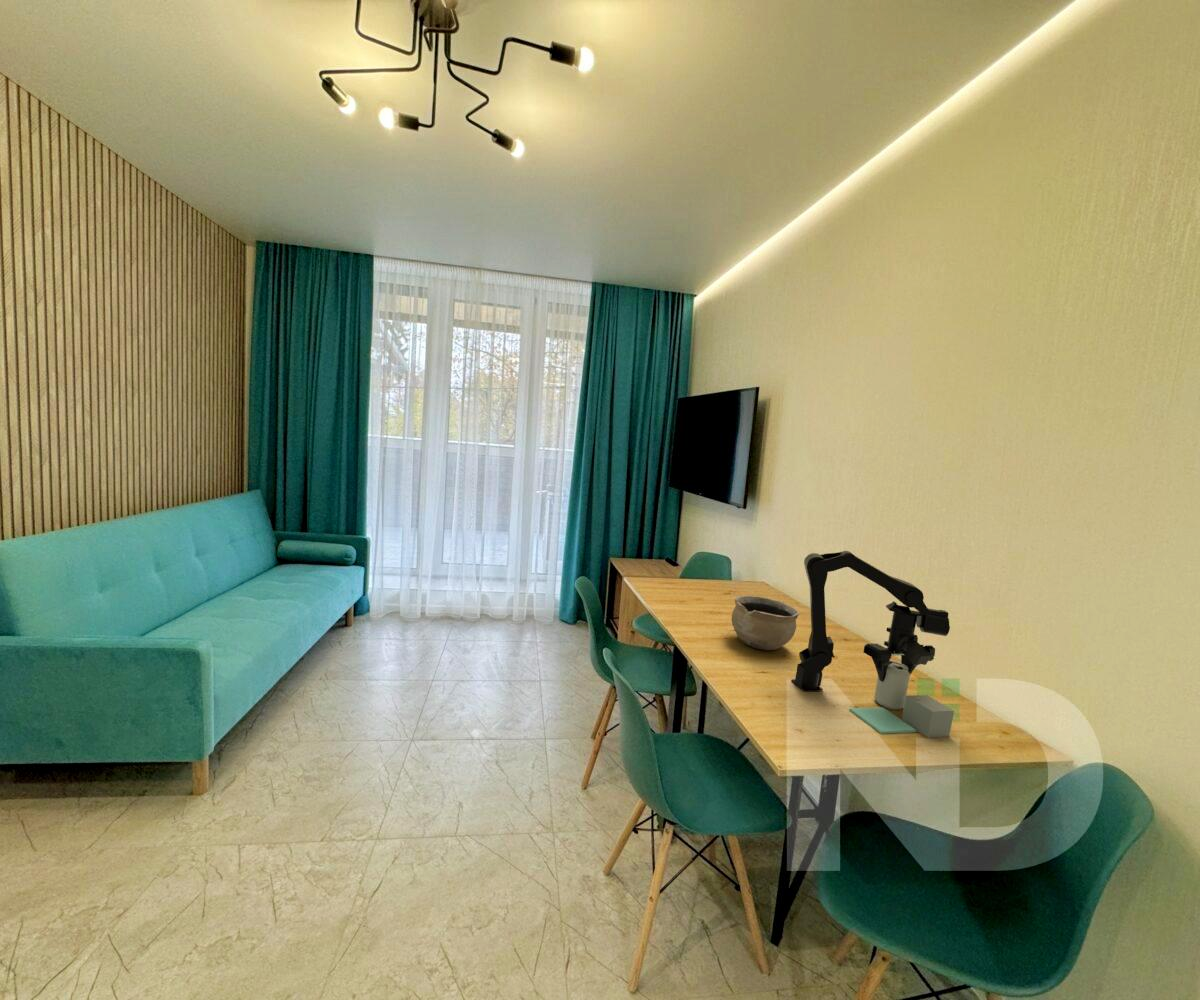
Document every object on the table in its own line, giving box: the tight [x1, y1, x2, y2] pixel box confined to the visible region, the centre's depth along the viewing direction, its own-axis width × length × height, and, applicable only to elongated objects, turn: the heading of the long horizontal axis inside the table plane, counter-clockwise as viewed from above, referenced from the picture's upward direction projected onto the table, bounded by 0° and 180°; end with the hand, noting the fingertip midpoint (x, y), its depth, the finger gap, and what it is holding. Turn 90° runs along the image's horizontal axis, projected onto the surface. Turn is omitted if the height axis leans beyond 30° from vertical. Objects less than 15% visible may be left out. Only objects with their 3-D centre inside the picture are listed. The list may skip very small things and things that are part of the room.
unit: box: [901, 694, 955, 739], centre depth 133 cm, size 7×8×7 cm
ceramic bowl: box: [731, 595, 800, 651], centre depth 179 cm, size 22×22×15 cm
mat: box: [849, 706, 917, 735], centre depth 134 cm, size 11×11×1 cm
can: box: [873, 660, 911, 711], centre depth 144 cm, size 8×8×12 cm
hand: (892, 680), depth 144 cm, fingers closed on can, 7 cm apart
